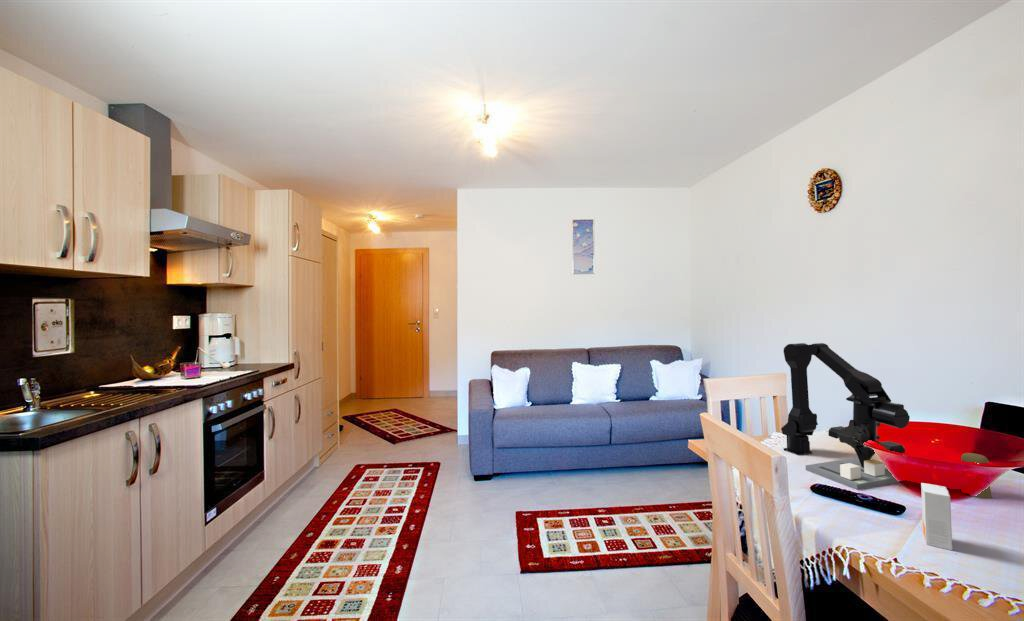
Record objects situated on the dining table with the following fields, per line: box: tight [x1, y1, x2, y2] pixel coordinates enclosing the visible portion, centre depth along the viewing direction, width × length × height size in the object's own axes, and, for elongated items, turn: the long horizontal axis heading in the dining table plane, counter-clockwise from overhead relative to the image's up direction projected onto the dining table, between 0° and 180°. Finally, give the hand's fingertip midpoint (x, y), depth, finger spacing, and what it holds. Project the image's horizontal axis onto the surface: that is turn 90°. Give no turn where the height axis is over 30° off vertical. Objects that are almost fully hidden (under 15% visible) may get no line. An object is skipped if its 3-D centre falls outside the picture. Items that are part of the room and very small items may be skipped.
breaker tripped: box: [864, 458, 885, 476], centre depth 128 cm, size 3×4×4 cm
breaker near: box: [840, 463, 861, 480], centre depth 126 cm, size 3×4×4 cm
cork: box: [960, 452, 993, 500], centre depth 117 cm, size 6×6×11 cm
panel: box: [805, 456, 899, 491], centre depth 132 cm, size 16×24×2 cm, turn 105°
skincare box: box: [920, 482, 953, 551], centre depth 94 cm, size 6×4×12 cm
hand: (863, 467), depth 131 cm, fingers closed
